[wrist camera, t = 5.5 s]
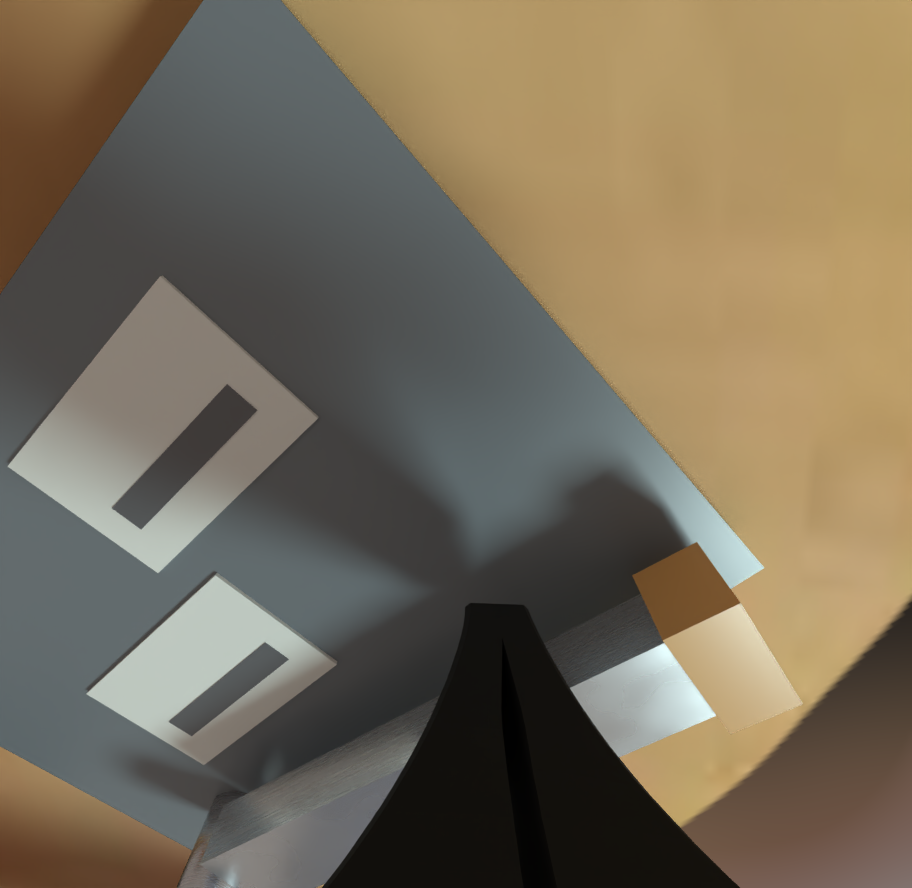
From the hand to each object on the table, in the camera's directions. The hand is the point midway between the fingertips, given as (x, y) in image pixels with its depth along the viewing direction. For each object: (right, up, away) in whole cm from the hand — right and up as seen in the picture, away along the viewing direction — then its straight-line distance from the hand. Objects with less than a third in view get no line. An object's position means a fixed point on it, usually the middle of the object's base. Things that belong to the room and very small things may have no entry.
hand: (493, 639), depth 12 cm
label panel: (-6, +1, +3) cm, 7 cm away
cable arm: (-1, -3, +2) cm, 4 cm away
